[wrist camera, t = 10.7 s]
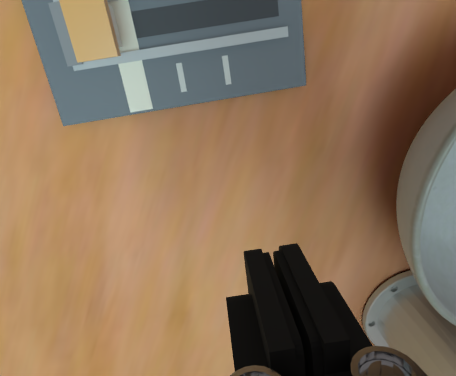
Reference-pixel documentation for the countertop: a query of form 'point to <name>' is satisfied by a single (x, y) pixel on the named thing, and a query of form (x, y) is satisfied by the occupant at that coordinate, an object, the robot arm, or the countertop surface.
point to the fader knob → (91, 29)
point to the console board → (172, 55)
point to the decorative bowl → (431, 208)
